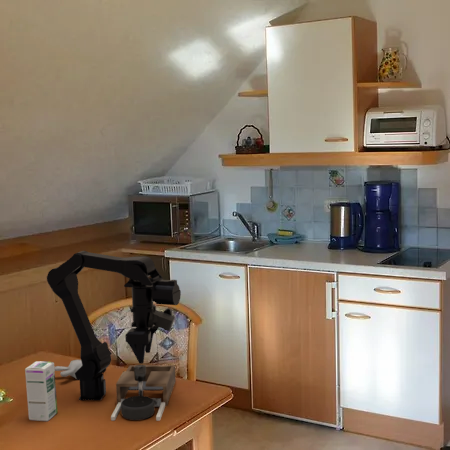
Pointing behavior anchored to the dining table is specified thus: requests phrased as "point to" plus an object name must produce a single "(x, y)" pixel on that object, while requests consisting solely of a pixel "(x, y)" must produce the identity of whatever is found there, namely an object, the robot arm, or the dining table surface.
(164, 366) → the tunnel
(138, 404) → the smart speaker
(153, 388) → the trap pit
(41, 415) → the syrup box
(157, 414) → the rails
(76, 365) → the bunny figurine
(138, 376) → the slider
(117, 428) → the dining table surface
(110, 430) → the dining table surface
